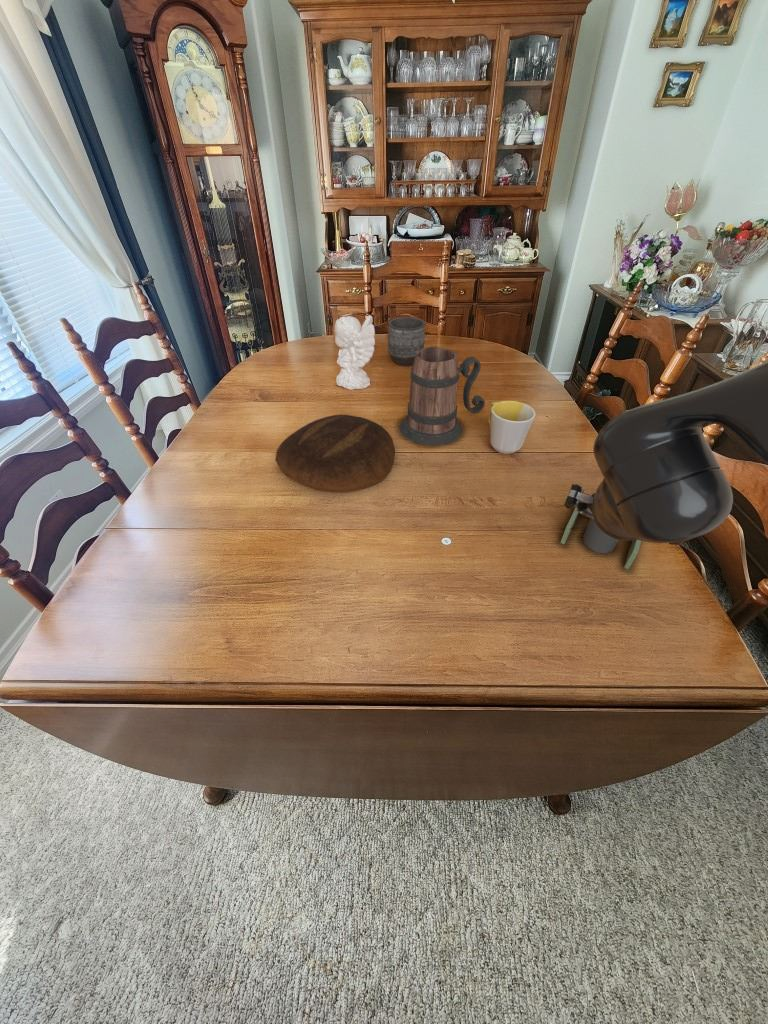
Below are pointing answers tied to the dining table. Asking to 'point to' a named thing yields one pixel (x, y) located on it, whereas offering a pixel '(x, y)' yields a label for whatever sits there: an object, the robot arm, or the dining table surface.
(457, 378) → the tankard
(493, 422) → the mug
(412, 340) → the planter
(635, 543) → the green u-shaped frame
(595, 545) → the bottle
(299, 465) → the bread
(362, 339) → the cherub figurine
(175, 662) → the dining table surface
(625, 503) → the robot arm
